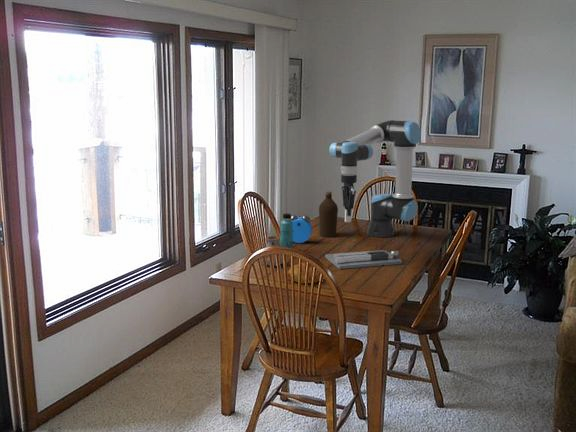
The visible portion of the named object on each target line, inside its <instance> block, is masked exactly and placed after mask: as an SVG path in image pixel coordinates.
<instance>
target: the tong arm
mask: <svg viewBox="0 0 576 432" xmlns="http://www.w3.org/2000/svg"><path fill="white" fill-rule="evenodd" d="M386 251H387V250H385V251H379V252H367V253H352V254H337V253H333V254H334V260H335V257H341V256H354V255H367V254H378V253H388V252H389V251H387V252H386Z"/></svg>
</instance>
